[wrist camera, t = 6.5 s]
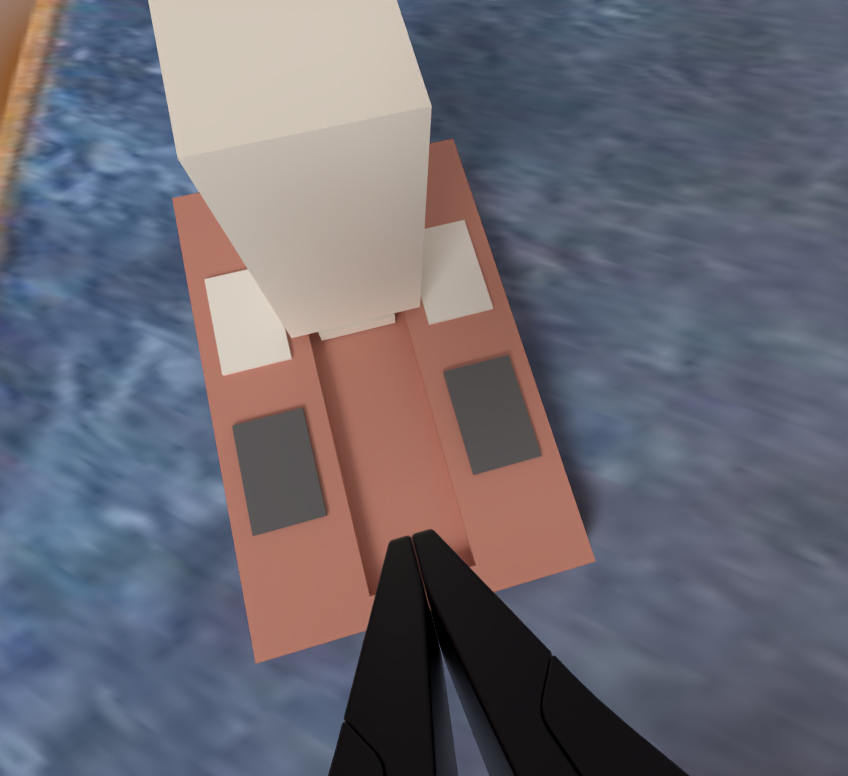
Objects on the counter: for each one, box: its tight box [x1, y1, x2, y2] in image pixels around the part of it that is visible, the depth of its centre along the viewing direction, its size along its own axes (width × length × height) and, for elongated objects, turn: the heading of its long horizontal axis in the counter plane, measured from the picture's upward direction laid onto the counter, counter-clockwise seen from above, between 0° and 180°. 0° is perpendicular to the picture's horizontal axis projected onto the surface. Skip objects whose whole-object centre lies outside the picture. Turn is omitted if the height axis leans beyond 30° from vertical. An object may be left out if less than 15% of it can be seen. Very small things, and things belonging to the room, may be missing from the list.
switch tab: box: [148, 0, 432, 341], centre depth 16 cm, size 4×5×11 cm
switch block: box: [172, 139, 595, 663], centre depth 20 cm, size 18×12×2 cm, turn 15°
